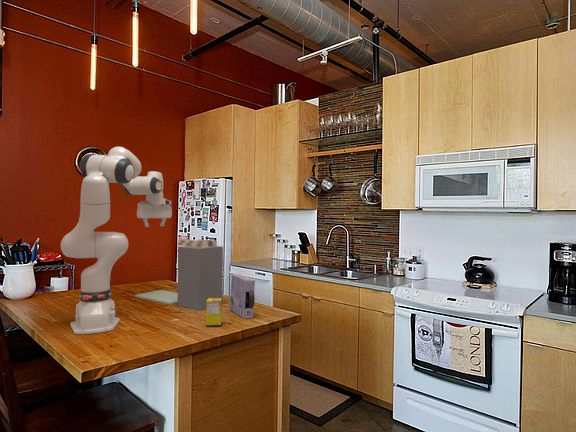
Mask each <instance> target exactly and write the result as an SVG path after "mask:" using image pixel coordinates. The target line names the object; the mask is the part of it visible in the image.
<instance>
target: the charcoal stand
mask: <svg viewBox="0 0 576 432" xmlns="http://www.w3.org/2000/svg"><path fill="white" fill-rule="evenodd" d="M223 274H224V247H223V246H218V245H217V246H216V247H209V246H208V247H193V246H182V245H181V246H177V293H178V304H177V307H181V308H187V309H189V310H194V311H202V310H203V311H204V310H206V301H207V300H208V298H222V305H223V298H224V297H223V294H224V290H223V289H224V286H223V285H224V282H223V281H224V275H223Z"/></svg>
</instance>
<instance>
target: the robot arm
mask: <svg viewBox="0 0 576 432" xmlns="http://www.w3.org/2000/svg"><path fill="white" fill-rule="evenodd" d="M79 171H80V174H81V176H82V178H83V179H82V184H81V188H80V199H79V200H80V201H79V202H80V211H79V218H78V222H77V224H76V226H74V228H73V229H72V230H71V231H70V232H68V233H67V234H65V235H64V236H63V238H62V239H61V242H60V250H61V253H62V254H63V255H64V256H65V257H67V258H74V259H94V258H96V259H97V261H96V262H95V263H94V264H92V265H90V266H88V267H86V268H84V269H83V270H82V271H81V274H80V291H79V302H78V303H76V305H75V315H74V319H75V321H71V322H70V324H69V325H70V328H71V330H72V331H73V334H75V335H87V334H98V333H105V332H110V331H113V330H114V329H115V328H116V327H117V325H118V323H119V322H120V318H119V317H116V311H115V310H116V306H115V301H114V300H113V299H112V298H111V297H112V289H111V273H112V269H113V267H114V265H115V263H116V262H117V260H119V259H120V258H121V257H122V256H124V255H125V254H126V252H127V251H128V248H129V240H128V238H127V236H126V234H125V233H123V232H117V231H94V230H95V229H97V228H98V227H100V226H103V225H104V224H106V223H108V221H109V220H110V218H111V192H110V186H109V185H110V183H111V184H112V183H113V184H119V185H121V187H122V190H123V191H124V193H125V194H127V196H135V195H137V196H141V195H143V196H145V195H146V196H145V200H143V201H142V200H141V201H139V202H138V203H137V210H136V217H137V218H138V219H142V221H143V223H144V226H145V228H146V227H147V228H149V227H150V223H148V221H149V220H148V219H161V222H160V223H159V227H164V226H165V223H166V222H167V219H171V218H172V217H173V212H172V206H171V205H172V200H169V199H167V198H164V193H163V190H164V179H163V174H162V172H159V171H157V170H150V171H148V172H147V175H146V176H139V175H140V174H141V172H142V164H141V161H140V160H139V159H138V157H137V156H136V155H135V154H133V152H132V151H130V150H129V149H127V148H125V147H124V146H115V147H112V148H111V149H110V150H109V151H108V153H107V154H96V153H90V154H89V153H88V154H85V155H84V156H83V157H82V158H81V159H80V162H79Z"/></svg>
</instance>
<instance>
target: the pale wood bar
mask: <svg viewBox="0 0 576 432" xmlns="http://www.w3.org/2000/svg"><path fill="white" fill-rule="evenodd" d="M199 240H200V241H208V246H209V247H216V246H218V245H217V244H218V241H217V240H214V239H213V240H212V239H211V240H210V239H199Z"/></svg>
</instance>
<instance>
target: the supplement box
mask: <svg viewBox="0 0 576 432" xmlns="http://www.w3.org/2000/svg"><path fill="white" fill-rule="evenodd" d="M205 311H206V312H205V314H206V315H205V316H206V318H205V322H206V325H205V327H206V328H210V327H211V328H213V327H219V328H220V327H221V326H222V324H223V304H222V298H208V300H207V301H206V309H205Z"/></svg>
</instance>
